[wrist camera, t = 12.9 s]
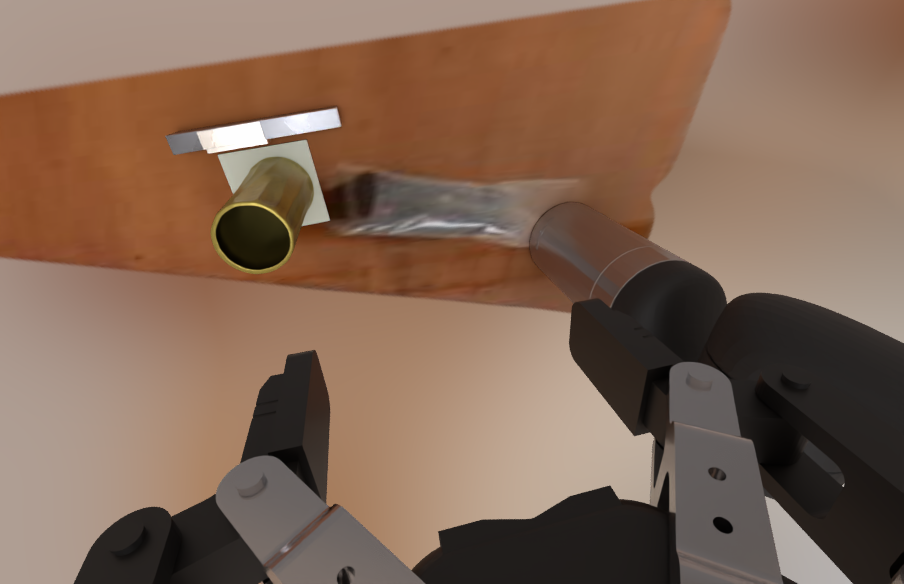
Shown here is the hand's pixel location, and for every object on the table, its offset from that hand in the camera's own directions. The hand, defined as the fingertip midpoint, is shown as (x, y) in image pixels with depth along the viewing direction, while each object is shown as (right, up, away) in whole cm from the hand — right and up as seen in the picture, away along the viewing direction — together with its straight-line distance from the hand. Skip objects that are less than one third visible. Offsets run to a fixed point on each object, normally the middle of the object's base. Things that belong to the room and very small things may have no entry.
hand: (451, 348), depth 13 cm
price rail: (-17, +17, +25) cm, 35 cm away
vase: (-17, +12, +28) cm, 34 cm away
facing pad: (-17, +12, +28) cm, 35 cm away
